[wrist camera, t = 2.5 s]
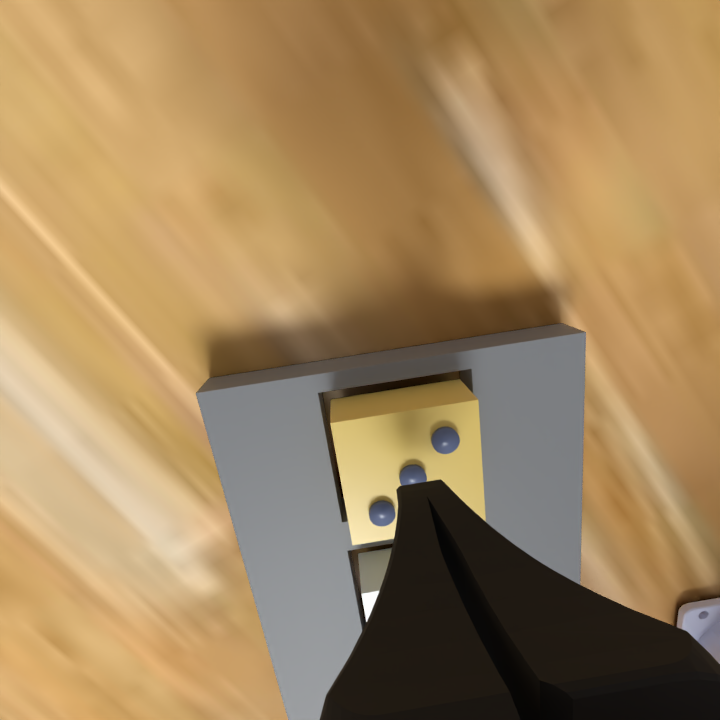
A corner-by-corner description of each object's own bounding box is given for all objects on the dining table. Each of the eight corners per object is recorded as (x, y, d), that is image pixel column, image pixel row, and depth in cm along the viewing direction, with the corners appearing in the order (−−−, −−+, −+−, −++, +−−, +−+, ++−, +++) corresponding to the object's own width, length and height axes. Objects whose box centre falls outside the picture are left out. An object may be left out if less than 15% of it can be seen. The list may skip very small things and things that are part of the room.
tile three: (459, 378, 15) (480, 402, 13) (468, 489, 16) (487, 527, 14) (330, 399, 15) (330, 426, 13) (350, 509, 16) (352, 549, 14)
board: (561, 323, 16) (585, 332, 14) (559, 695, 22) (576, 729, 21) (209, 378, 16) (196, 393, 14) (306, 740, 22) (304, 777, 20)
